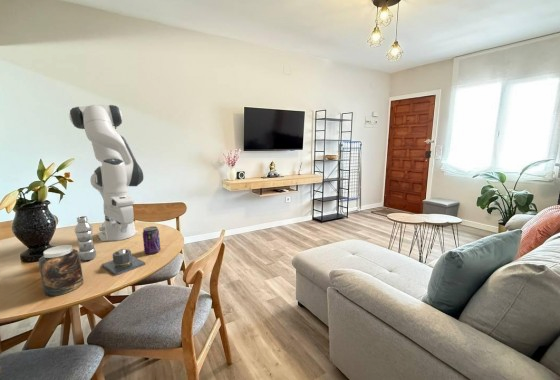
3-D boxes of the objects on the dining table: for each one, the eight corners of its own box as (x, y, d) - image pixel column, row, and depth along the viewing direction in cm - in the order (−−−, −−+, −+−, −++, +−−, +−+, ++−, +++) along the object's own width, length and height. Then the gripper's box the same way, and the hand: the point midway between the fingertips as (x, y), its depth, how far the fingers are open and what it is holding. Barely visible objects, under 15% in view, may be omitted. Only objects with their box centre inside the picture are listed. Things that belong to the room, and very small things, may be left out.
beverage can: (154, 255, 126) (151, 231, 124) (141, 254, 127) (138, 230, 125) (163, 249, 133) (161, 226, 131) (151, 248, 134) (148, 225, 132)
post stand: (101, 266, 115) (99, 250, 114) (130, 256, 125) (129, 242, 123) (115, 275, 107) (113, 259, 106) (145, 264, 116) (143, 249, 115)
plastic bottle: (86, 263, 118) (79, 220, 114) (75, 261, 120) (69, 218, 117) (100, 257, 124) (94, 216, 120) (90, 255, 126) (84, 214, 123)
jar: (38, 290, 97) (31, 251, 94) (75, 276, 107) (70, 241, 104) (51, 299, 91) (44, 258, 88) (89, 284, 101) (84, 247, 98)
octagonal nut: (111, 261, 115) (110, 253, 114) (127, 256, 120) (126, 248, 119) (118, 265, 111) (117, 256, 110) (133, 260, 116) (132, 251, 115)
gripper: (97, 195, 114) (100, 226, 117) (118, 203, 102) (121, 237, 105) (114, 193, 119) (116, 222, 122) (135, 201, 107) (137, 233, 110)
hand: (118, 229), depth 113 cm, fingers open, 8 cm apart
